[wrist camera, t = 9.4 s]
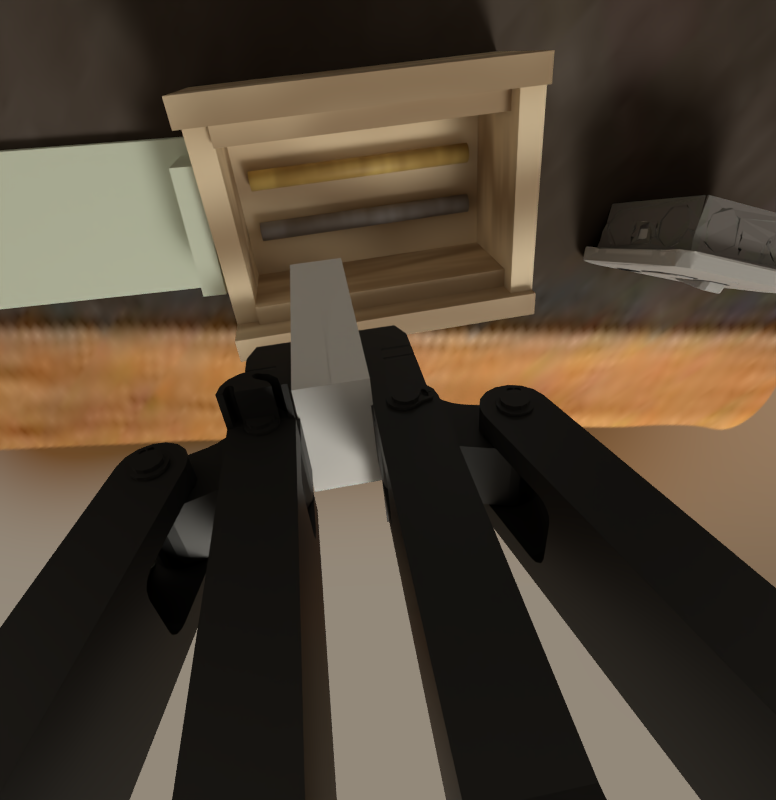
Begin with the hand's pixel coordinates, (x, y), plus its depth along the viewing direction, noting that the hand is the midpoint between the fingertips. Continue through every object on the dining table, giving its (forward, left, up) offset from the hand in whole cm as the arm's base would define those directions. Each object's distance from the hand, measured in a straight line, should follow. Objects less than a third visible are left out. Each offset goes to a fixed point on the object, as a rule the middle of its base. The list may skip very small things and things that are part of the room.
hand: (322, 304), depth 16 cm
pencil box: (+1, +3, -17) cm, 17 cm away
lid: (0, -12, -17) cm, 21 cm away
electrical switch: (+6, +22, -17) cm, 28 cm away
